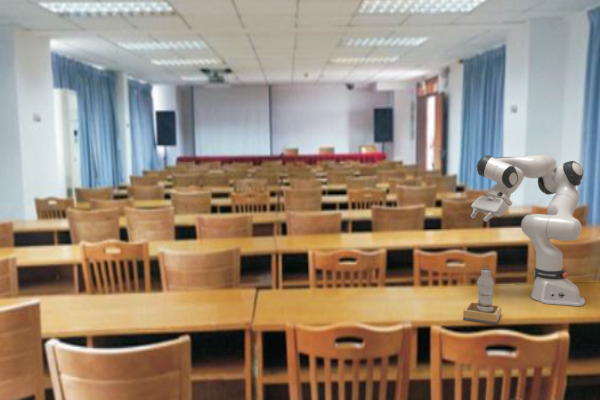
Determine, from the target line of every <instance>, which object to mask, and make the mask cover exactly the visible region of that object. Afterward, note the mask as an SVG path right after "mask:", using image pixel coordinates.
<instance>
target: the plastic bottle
mask: <svg viewBox="0 0 600 400" xmlns="http://www.w3.org/2000/svg"><path fill="white" fill-rule="evenodd" d="M480 274H481V275H480V276H479V277H478V279H477V282H476V284H477V290H478V291H477V292H478V295H477V296H478V297H477V298H478V299H477V303H478V305H477V312H485V313H492V314H493V312H494V310H493V305H494V304H493V294H494V293H493V291H494V287H495V286H494V285H495V281H494V279H493V277H492V276H491V275H492V269H490V268H482V269H481V271H480Z"/></svg>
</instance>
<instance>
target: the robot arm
mask: <svg viewBox="0 0 600 400" xmlns="http://www.w3.org/2000/svg"><path fill="white" fill-rule="evenodd" d="M476 171H477V173H478V175H479V176H480V177H484V178H487V179H489V180H491V181H494V182H496V184H494V185H493V186H492V187H491V188H490V190H488V192H487V193H486V194H484V195H479V196H478V197H477V198H476V199H475V200H474V201H473V202H472V204H471V206H470V207H471V208H472V213H471V214H470V217H471V218H472V219H475V218H476V217H477V214H479V213H482V214H486V216H485V215H484V216H483V218H482V220H483V222H486V223H487V222H488V221H489V220H490V219H492V218H493V217H501V216H502V215H504V214H505V213H506V212H507V211H508V209H509V208H510V207H511V206H512V205H513V202H512V200H511V199H510V198H511V196H512V194H513V193H515V192H516V190H517V189H518V188H519V187H520V185H521V184H522V183H523V180H524V178H528V179H537V186H538V189H539V190H540V191H541V192H542V193H543V194H545V195H553V194H555V195H554V196H553V197H552V199H551V201H550V202H549V203H548V206H547V210H546V212H547V214H543V213H532V214H526V215H525V216H524V217H523V218H522V220H521V223H520V227H521V230H522V232H523V234H524V235H525V236H526V237H527V238H529V240H530V241H531V243H532V244H533V247H534V250H535V251H534V252H535V267H534V271H533V272H534V273H533V278H534V283H533V289H532V291H531V293H530V294H531V295H530V297H531V298H532V299H533V300H536V301H538V302H540V303H542V304H547V305H557V306H569V307H571V306H572V307H573V306H574V307H581V306H584V305H585V303H586V300H585V298H584V297H583V296H581V295H580V289H579V288H578V286H577V285H576V284H575V283H574V282H572V281H571V280H570V279H568V278H567V277H568V271H567V270H566V269H563V257H564V256H563V255H564V254H563V252H562V251H561V250H560V249H559V248H558V247H557V246H555V245H553V243H552V241H551V240H553V241H555V240H557V241H563V242H567V241H576V240H578V239H579V237H580V236H581V235H582V232H583V226H582V224H581V222H580V220H579V219H577V218H576V217H574V213H575V210H576V209H577V207H578V203H579V199H580V193H579V191H578V190H577V188H576V187H579V186H580V185H581V181H582V179H583V176H584V169H583V167H582V166H581V165H580V163H579V162H576V161H575V160H570V161H565V162H564V163H563V164H560V165H558V166H557V161H556V159H555V158H554V156H552V155H549V154H534V155H526V156H525V155H524V156H504V157H503V156H501V157H500V156H499V157H493V156H492V155H484V156H483V157H481V158H479V160H478V161H477V164H476Z"/></svg>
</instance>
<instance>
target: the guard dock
mask: <svg viewBox="0 0 600 400" xmlns="http://www.w3.org/2000/svg"><path fill="white" fill-rule="evenodd" d="M477 305H478V302H474V301H469V302H468V304H466V306H465V307H464V309H463V312H462V313H463V315H462V316H463V317H462V319H463V320H464V321H470V322H476V323H477V322H478V323H485V324H491V325H497V324H498V322H499V320H500V318H501V316H502V305H498V304H493V310H494V312H493V314H492V313H485V312H477Z"/></svg>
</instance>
